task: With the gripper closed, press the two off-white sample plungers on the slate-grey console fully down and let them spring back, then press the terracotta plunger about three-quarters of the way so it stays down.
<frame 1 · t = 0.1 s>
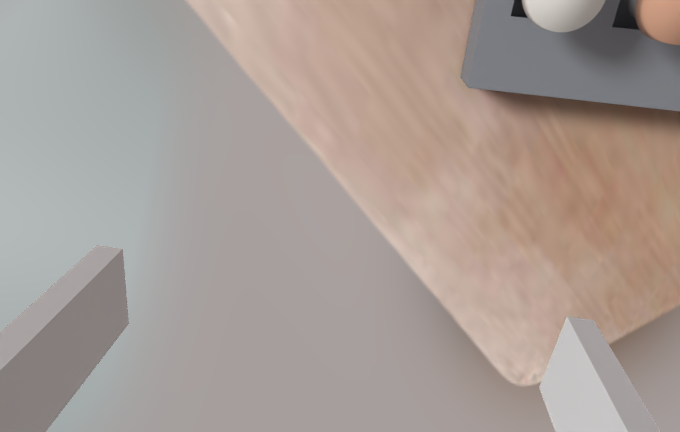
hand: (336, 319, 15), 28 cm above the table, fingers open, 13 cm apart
terracotta plunger: (665, 2, 29), point 6 cm above the table, slide at 0.0 cm
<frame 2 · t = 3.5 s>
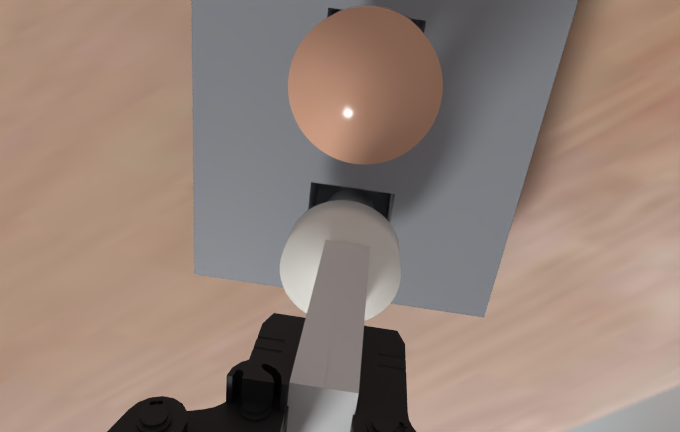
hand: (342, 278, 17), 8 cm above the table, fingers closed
console: (373, 51, 21), on the table
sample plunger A: (345, 239, 20), point 5 cm above the table, slide at 1.0 cm, touching gripper
terracotta plunger: (367, 75, 16), point 6 cm above the table, slide at 0.0 cm
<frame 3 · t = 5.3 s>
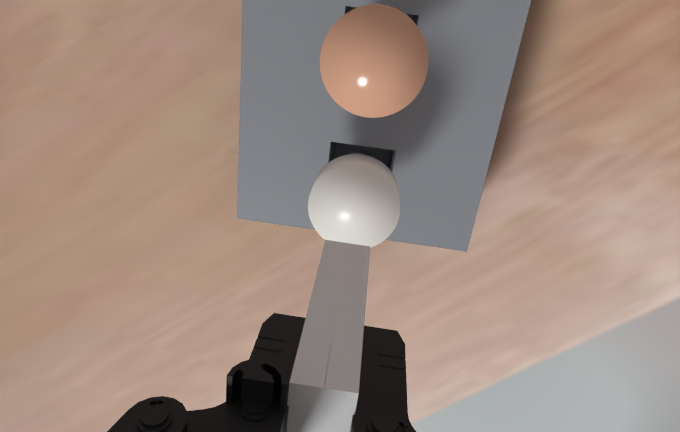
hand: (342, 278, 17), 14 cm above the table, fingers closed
console: (378, 40, 27), on the table
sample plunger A: (357, 187, 25), point 6 cm above the table, slide at 0.6 cm
terracotta plunger: (375, 55, 22), point 6 cm above the table, slide at 0.0 cm
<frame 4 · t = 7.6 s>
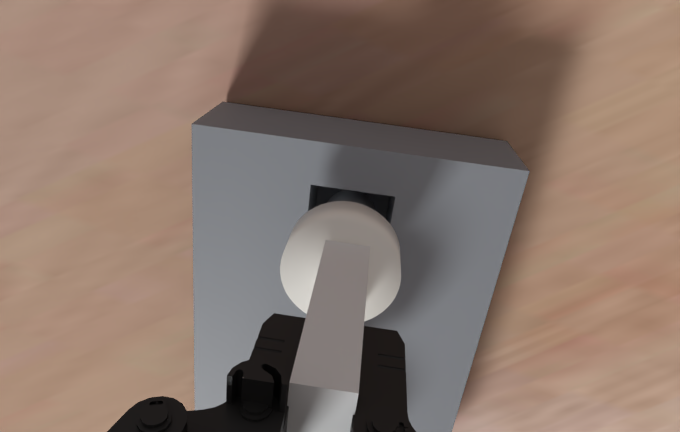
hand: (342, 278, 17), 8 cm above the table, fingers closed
console: (338, 302, 27), on the table
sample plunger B: (345, 240, 20), point 5 cm above the table, slide at 1.2 cm, touching gripper
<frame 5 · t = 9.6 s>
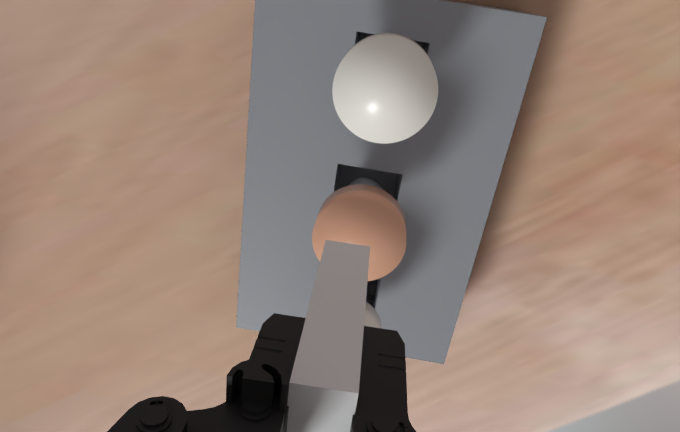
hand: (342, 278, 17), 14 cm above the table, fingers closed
console: (368, 172, 30), on the table
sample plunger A: (344, 315, 28), point 6 cm above the table, slide at 0.6 cm
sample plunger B: (385, 80, 22), point 6 cm above the table, slide at 0.6 cm
terracotta plunger: (362, 216, 24), point 6 cm above the table, slide at 0.0 cm
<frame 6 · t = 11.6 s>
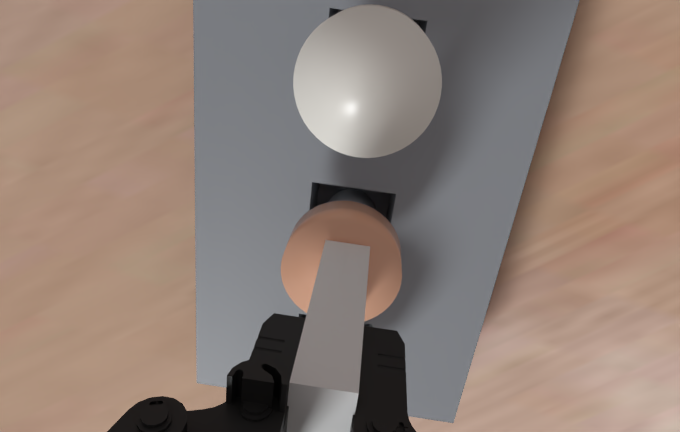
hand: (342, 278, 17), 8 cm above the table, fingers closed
console: (354, 189, 24), on the table
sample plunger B: (369, 72, 16), point 6 cm above the table, slide at 0.6 cm
terracotta plunger: (346, 239, 20), point 5 cm above the table, slide at 1.0 cm, touching gripper
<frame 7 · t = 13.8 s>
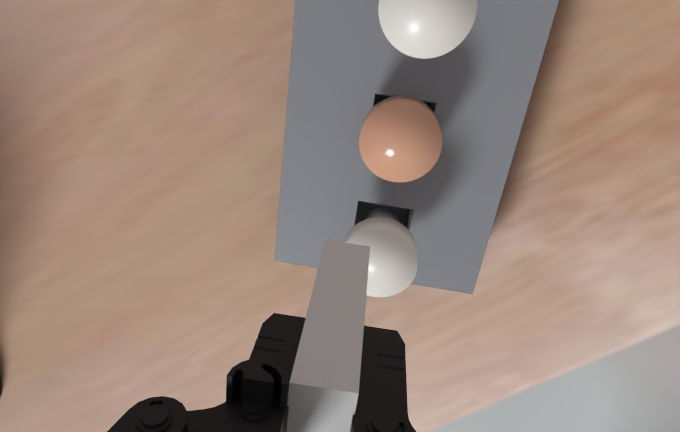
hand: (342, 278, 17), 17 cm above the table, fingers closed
console: (400, 111, 32), on the table
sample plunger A: (380, 242, 29), point 6 cm above the table, slide at 0.6 cm
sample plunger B: (424, 5, 24), point 6 cm above the table, slide at 0.6 cm
terracotta plunger: (400, 130, 28), point 4 cm above the table, slide at 1.8 cm
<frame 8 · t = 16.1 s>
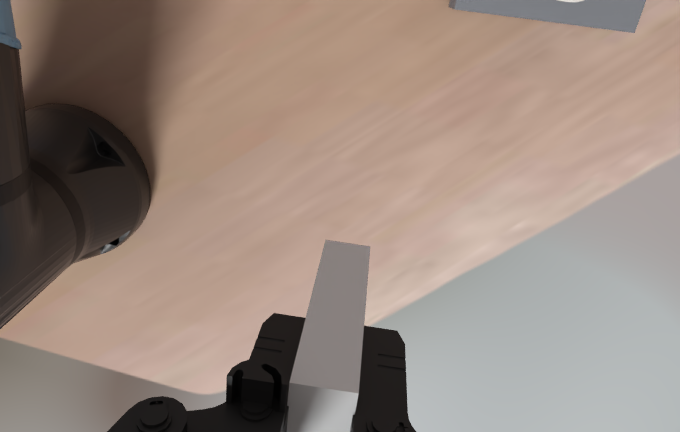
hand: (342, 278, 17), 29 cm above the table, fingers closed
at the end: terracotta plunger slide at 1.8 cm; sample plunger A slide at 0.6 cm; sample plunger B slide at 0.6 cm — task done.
